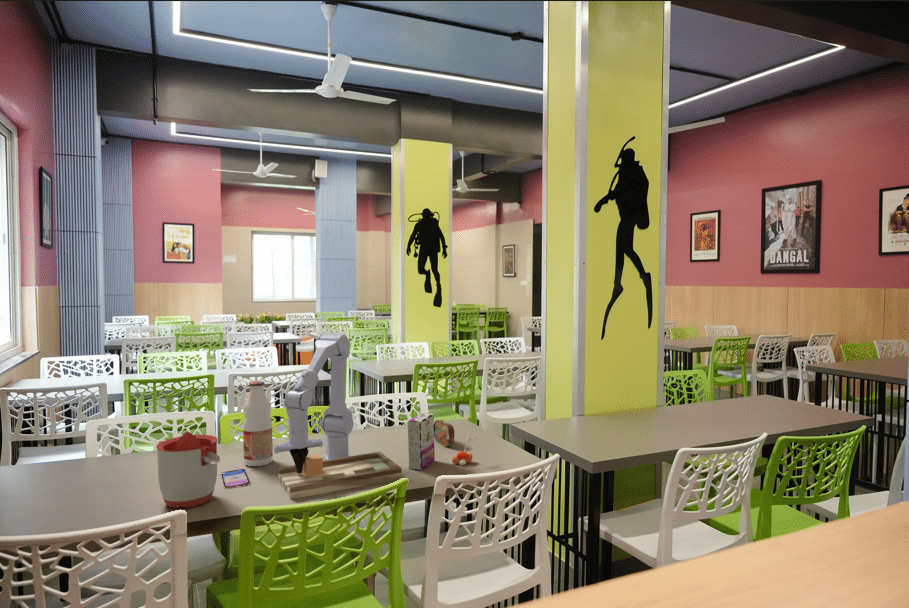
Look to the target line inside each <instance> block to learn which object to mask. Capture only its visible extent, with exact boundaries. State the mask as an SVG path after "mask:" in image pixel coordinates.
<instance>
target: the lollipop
mask: <svg viewBox="0 0 909 608" xmlns="http://www.w3.org/2000/svg"><path fill="white" fill-rule="evenodd" d="M471 431H472V429H471V428H470V429H469V431H468V434H467V438H466V440H465V441H466V442H465V446H464V450H461V451H459V452H457V454H456V455H455V456H453V457H452V460H451V461H452V463H453V464H454V465H460V466H464V465H466V464H471V462H472V460H473V454H472V453H468V452H466V450H467V446H468V442H469V441H474V440H477V439H478V437H477V436H473V437H472V438H471V437H470V436H471Z"/></svg>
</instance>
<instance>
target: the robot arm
mask: <svg viewBox="0 0 909 608" xmlns="http://www.w3.org/2000/svg"><path fill="white" fill-rule="evenodd" d="M314 346H315V347H314V348H315V350H314V354H313V357H312V358H311V361H310V362H309V365H308V367H307V369H306V370H303V371H302V372H301V373H300V376H299V378H298V379H297V381H296V383H295V385H294V387H293V389H292V390H290V391H288V392H287V393H286V394H285V397H284V400H283V405H284V407H285V409H286V414H287V415H288V442H286V443H285V442H284V443H282V444H277V445H273V453H274V454H279V453H282V452H283V453H285V452H289V453H290V456H291V457H292V460H293V462H294V465H295V466H296V472H297V473H298V474H299V473H302V468H303V464H304V461H305V459H306V457H307V455H309V449H312V448H317V447H318V448H323V446H324V444H325V446H324V447H325V454H323V455H322V458H324V460H331V459H337V458H343V457H350V454H349V434H351V433H352V431H353V428H354V418H353V411H351V409H349V408H348V407H347V406H346V396H347V394H346V393H347V390H346V389H347V366H348V358H349V357H350V339H349V337H348V336H347V335H346V334H324V333H321V334H319V335H318V336H317V338H316V340H315V342H314ZM328 359H329V360H330V361H331V371H330V392H329V393H330V395H329V396H330V397H329V398H330V399H329V400H330V401H329V407H327V408H326V409H325V410H323V417H322V419H321V430H322V431H323V432H324V435H326V436H325V441H324V442H325V443H323V440H322V439H309V430H308V429H309V419H308V418H309V417H308V412H309V411H308V409H309V408H310V406H311V405H312V401H313V399H312V398H313V396H314V395H313V392H314V390H315V388H316V386H317V384H318V382H319V380H320V379H319V376H318V375H319V373H320V372H321V370H322V368H323V367H324V365H325V363H326V362H327V360H328Z"/></svg>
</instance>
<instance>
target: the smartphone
mask: <svg viewBox="0 0 909 608" xmlns="http://www.w3.org/2000/svg"><path fill="white" fill-rule="evenodd" d="M246 471H247V470H246V469H245V468H239V469H234V470H229V471H224V472H222V473H225V474H221V473H220V476H221V475H222V479H223V482H222V484H224V486H223V488H224V487H225V488H229V489H231V488H230V487H235V488H237V487H236V486H241V487H244V486H243V485H247V486H249V485H248V484H250V485H251V481H250V478H249V476H248V473H247V472H246ZM222 479H221V480H222ZM225 488H224V489H225Z"/></svg>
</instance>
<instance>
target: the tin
mask: <svg viewBox="0 0 909 608" xmlns="http://www.w3.org/2000/svg"><path fill="white" fill-rule="evenodd" d="M455 433H456V432H455V428H454V426H453V425H452V424H451V423H449V422H447V421H446V420H443V419H435V420H434V441H435V442H436V443H438V444H440V445H442V446H443V447H444V448H445V447H451V446H453V445H454V443H455Z"/></svg>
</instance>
